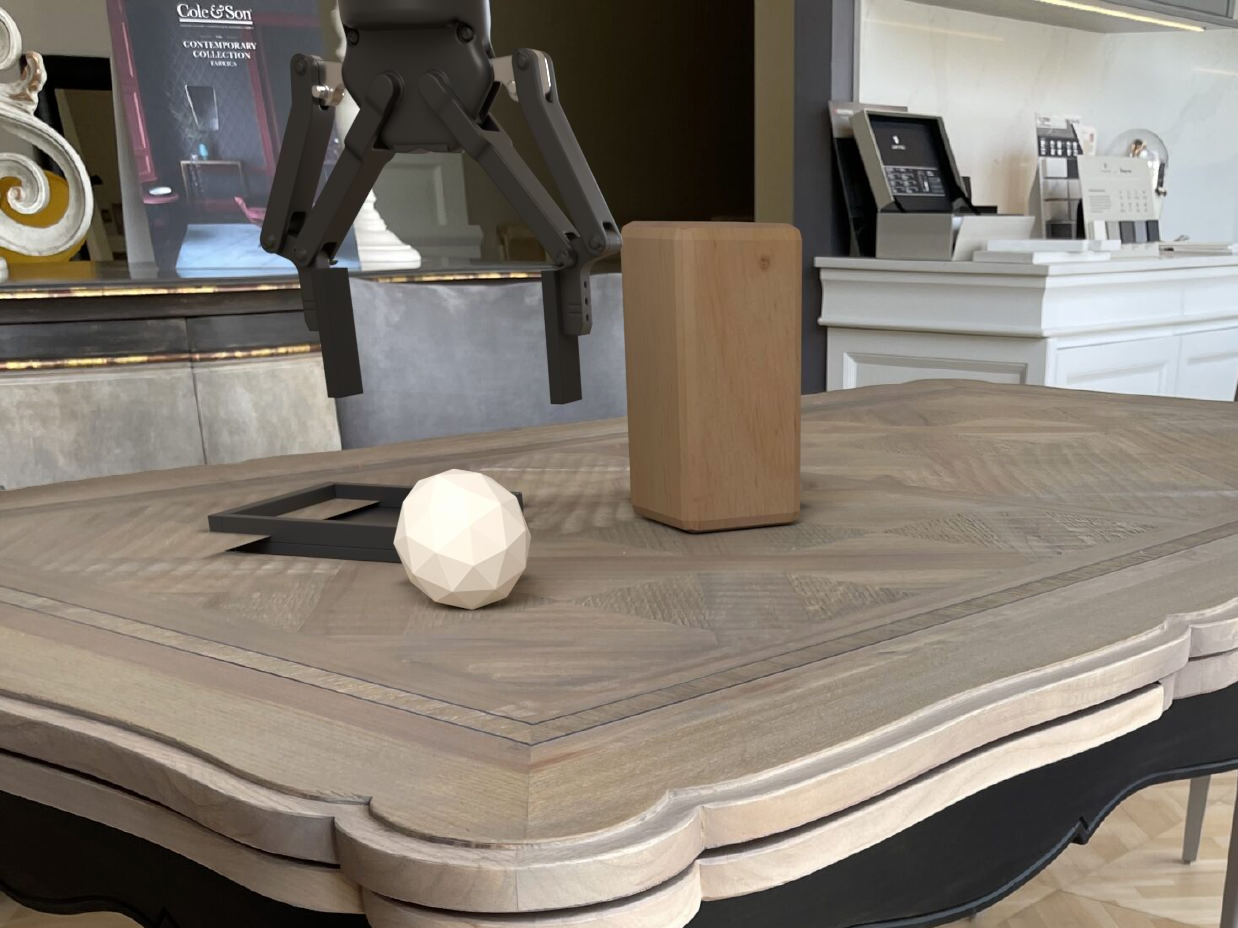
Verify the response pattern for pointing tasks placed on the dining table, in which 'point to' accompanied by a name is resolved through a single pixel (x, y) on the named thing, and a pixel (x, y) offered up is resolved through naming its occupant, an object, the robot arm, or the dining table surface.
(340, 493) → the tray
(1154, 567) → the dining table surface
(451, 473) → the geometric ball
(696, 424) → the wooden block
